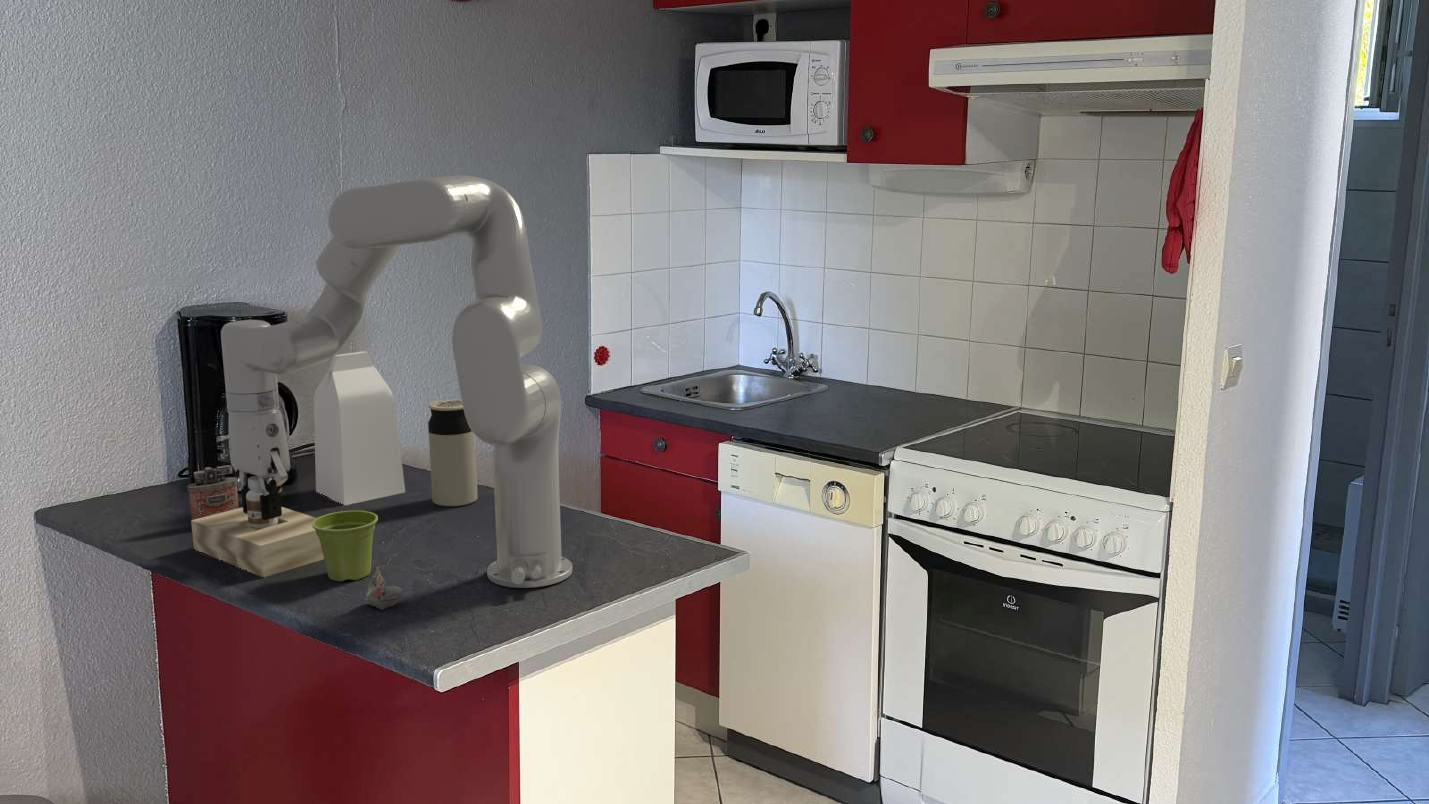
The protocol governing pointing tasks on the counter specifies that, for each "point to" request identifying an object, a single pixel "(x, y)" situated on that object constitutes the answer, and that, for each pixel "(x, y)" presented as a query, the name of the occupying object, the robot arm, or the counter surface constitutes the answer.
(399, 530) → the counter surface
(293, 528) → the hole block
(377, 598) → the figurine
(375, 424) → the milk
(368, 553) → the plant pot
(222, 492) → the lighter
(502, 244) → the robot arm
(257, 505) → the pill bottle
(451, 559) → the counter surface
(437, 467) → the travel mug
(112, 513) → the counter surface
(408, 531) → the counter surface
